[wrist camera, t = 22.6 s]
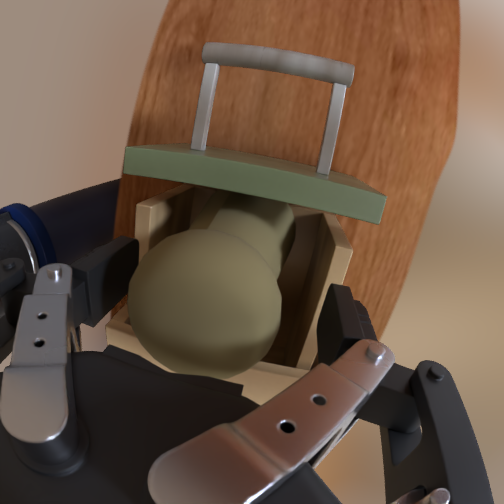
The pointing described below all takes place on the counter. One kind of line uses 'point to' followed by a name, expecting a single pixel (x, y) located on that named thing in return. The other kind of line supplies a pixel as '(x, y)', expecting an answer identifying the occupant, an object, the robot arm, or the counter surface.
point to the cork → (214, 287)
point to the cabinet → (254, 380)
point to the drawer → (265, 192)
